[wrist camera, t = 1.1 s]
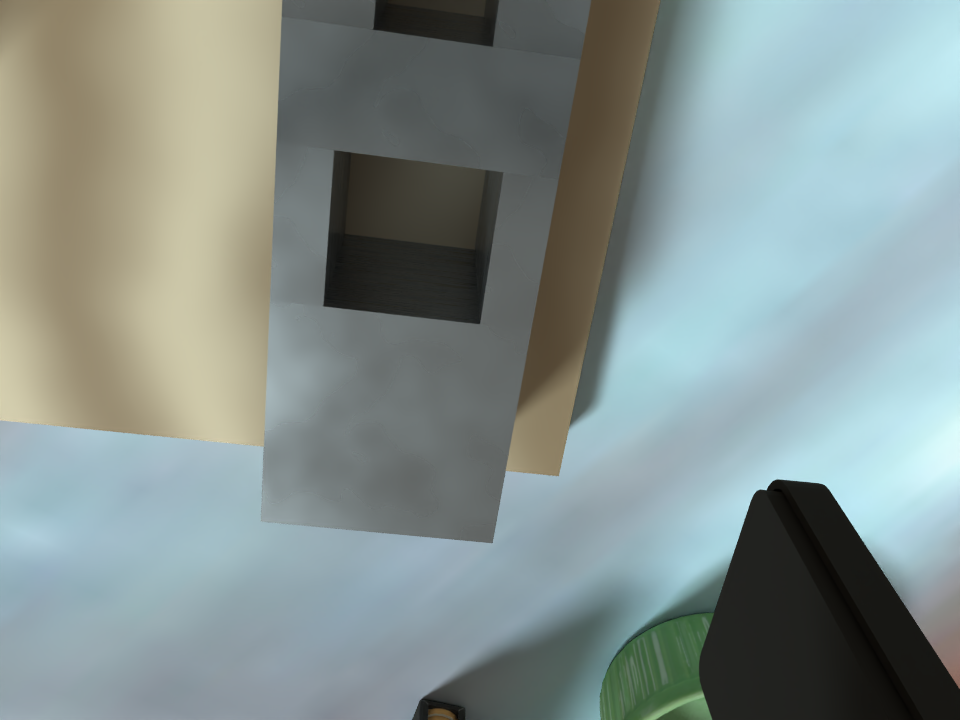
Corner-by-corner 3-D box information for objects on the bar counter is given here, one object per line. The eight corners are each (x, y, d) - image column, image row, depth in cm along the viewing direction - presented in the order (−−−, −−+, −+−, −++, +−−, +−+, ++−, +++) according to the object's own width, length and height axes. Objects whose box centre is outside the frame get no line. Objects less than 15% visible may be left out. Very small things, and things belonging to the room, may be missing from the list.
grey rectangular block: (485, 441, 29) (492, 543, 24) (290, 421, 28) (260, 521, 24) (582, -139, 21) (618, -147, 17) (323, -181, 21) (290, -201, 16)
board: (677, -166, 23) (781, -192, 16) (552, 442, 31) (583, 606, 24) (-545, -370, 20) (-1076, -511, 13) (-337, 350, 28) (-600, 503, 21)
